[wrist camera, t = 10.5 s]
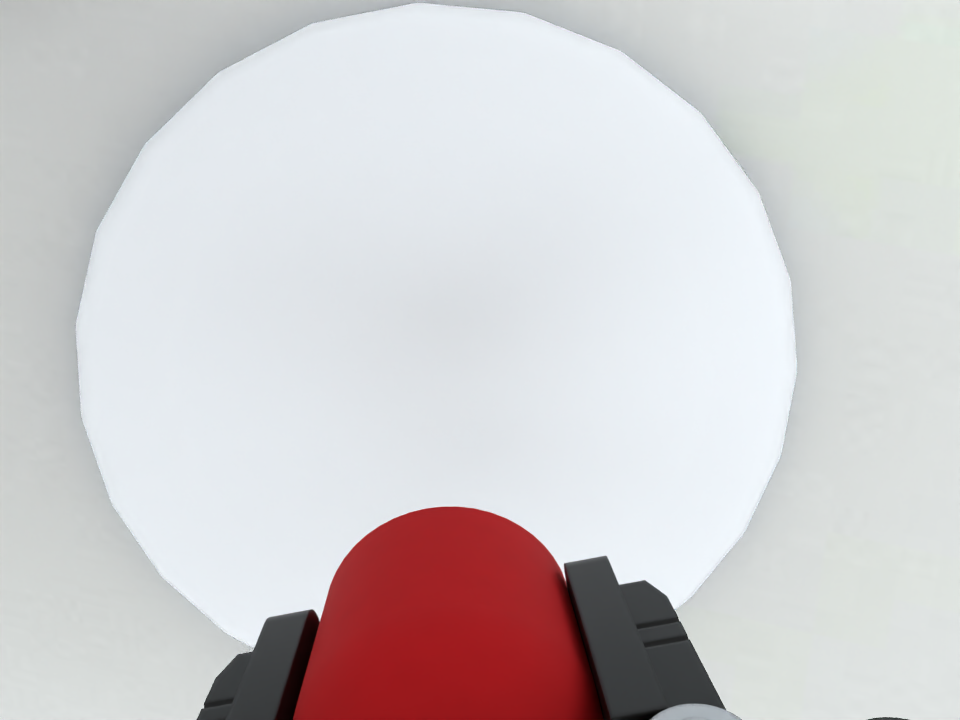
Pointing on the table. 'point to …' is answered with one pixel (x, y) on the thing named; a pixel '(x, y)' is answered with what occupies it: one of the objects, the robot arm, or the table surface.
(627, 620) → the robot arm
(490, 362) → the plate
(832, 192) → the table surface
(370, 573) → the strawberry
